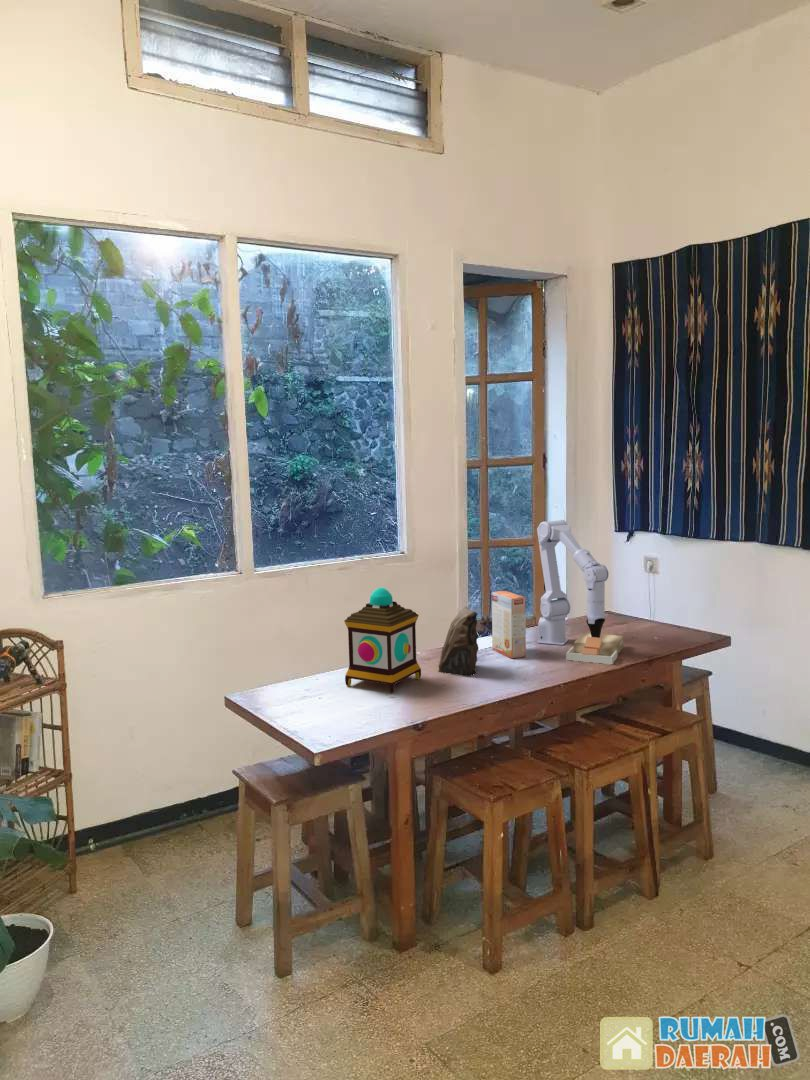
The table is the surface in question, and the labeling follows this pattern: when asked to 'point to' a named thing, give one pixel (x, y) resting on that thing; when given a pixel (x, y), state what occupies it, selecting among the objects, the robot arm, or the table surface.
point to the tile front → (590, 651)
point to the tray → (590, 657)
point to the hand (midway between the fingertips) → (595, 640)
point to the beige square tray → (607, 646)
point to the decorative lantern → (382, 642)
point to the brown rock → (460, 645)
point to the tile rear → (593, 643)
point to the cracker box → (509, 624)
